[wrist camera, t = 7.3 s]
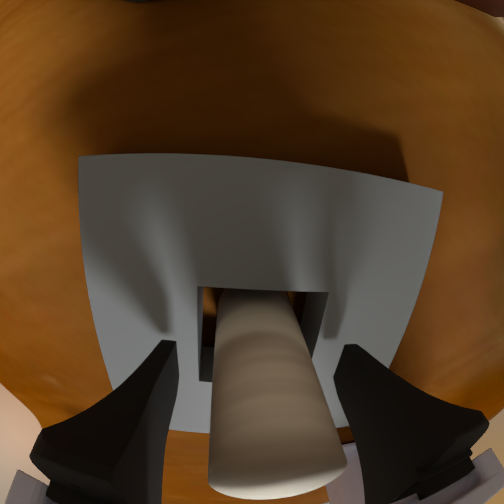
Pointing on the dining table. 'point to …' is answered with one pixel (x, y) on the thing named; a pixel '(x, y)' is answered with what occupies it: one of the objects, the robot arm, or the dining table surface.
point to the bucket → (487, 6)
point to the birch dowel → (267, 403)
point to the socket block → (247, 258)
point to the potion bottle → (137, 0)
